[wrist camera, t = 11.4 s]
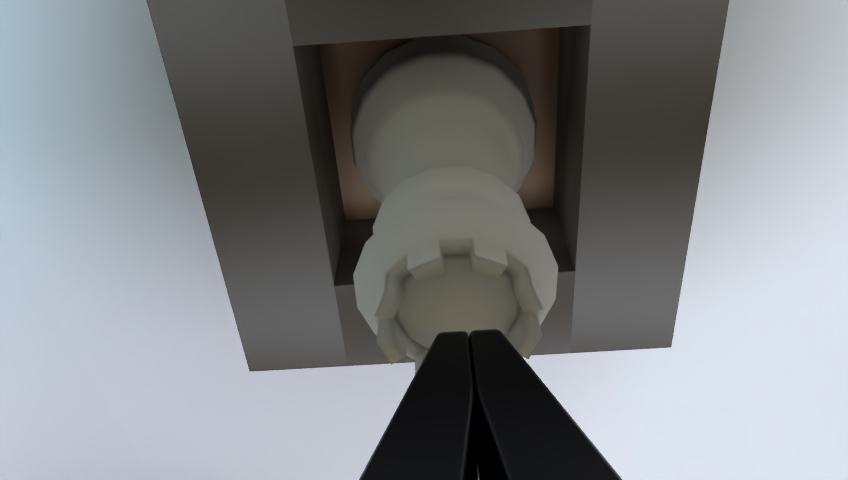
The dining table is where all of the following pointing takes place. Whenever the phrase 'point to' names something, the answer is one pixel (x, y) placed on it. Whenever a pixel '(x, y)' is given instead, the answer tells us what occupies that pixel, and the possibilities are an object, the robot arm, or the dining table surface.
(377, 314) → the rook chess piece
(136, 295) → the dining table surface
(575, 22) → the socket board
